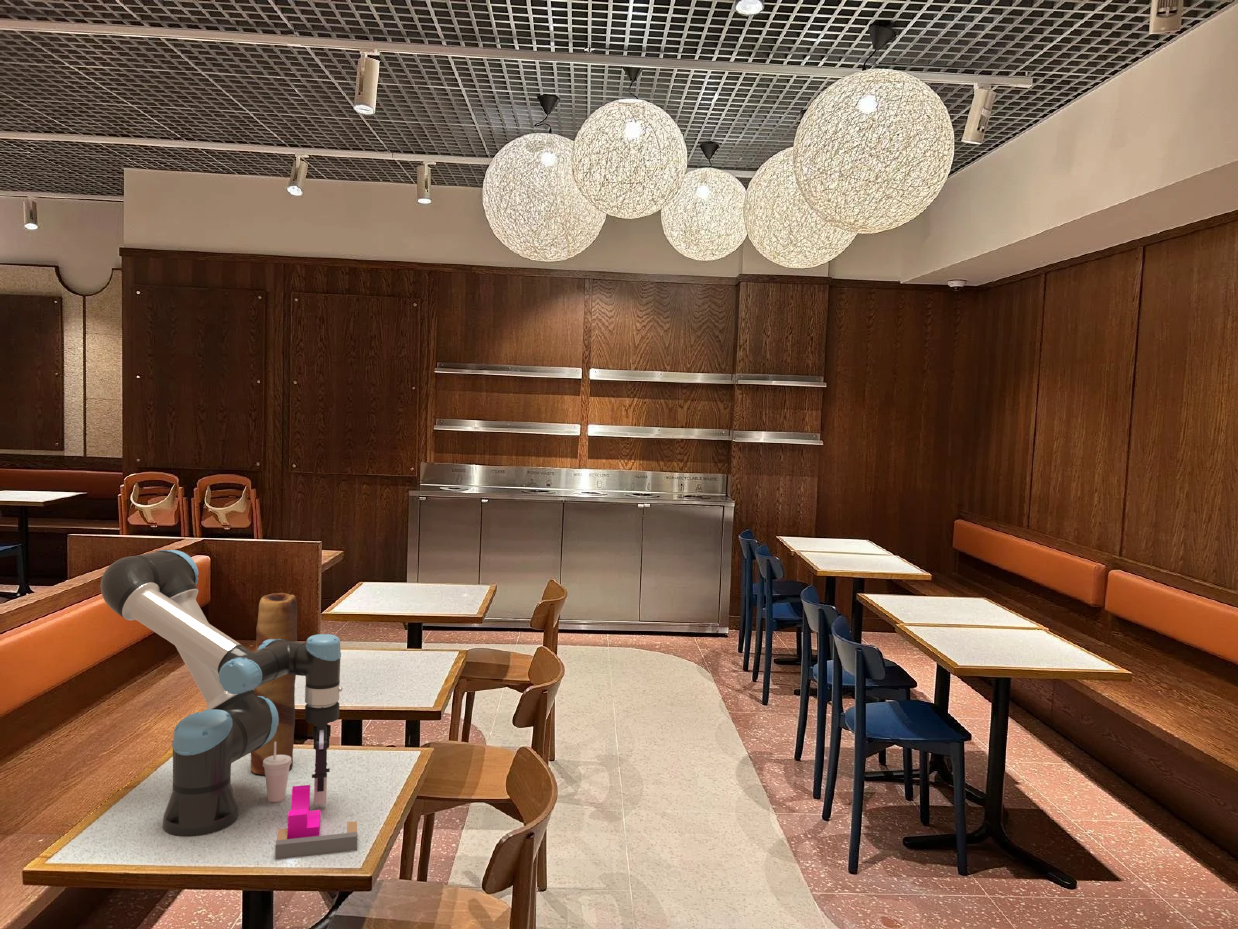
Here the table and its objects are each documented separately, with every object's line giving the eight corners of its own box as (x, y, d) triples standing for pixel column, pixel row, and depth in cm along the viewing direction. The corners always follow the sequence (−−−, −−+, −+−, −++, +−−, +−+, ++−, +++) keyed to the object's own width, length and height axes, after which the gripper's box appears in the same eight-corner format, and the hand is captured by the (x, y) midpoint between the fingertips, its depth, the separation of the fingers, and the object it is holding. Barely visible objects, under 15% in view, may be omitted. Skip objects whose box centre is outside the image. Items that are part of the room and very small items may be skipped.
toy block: (318, 847, 181) (319, 813, 181) (287, 851, 179) (288, 816, 179) (320, 816, 195) (321, 784, 195) (291, 818, 193) (292, 786, 193)
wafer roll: (302, 762, 224) (305, 593, 222) (283, 778, 214) (287, 601, 212) (263, 759, 225) (267, 591, 223) (243, 775, 215) (246, 599, 212)
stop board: (275, 861, 174) (275, 845, 174) (277, 845, 181) (278, 829, 181) (356, 852, 179) (357, 836, 179) (356, 837, 186) (356, 821, 186)
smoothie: (263, 795, 204) (264, 737, 203) (291, 792, 206) (292, 735, 205) (260, 807, 198) (261, 747, 197) (290, 804, 200) (291, 745, 199)
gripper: (339, 711, 192) (337, 813, 193) (339, 693, 204) (337, 789, 205) (304, 713, 189) (301, 817, 190) (306, 695, 202) (303, 792, 203)
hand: (320, 802), depth 198 cm, fingers closed
